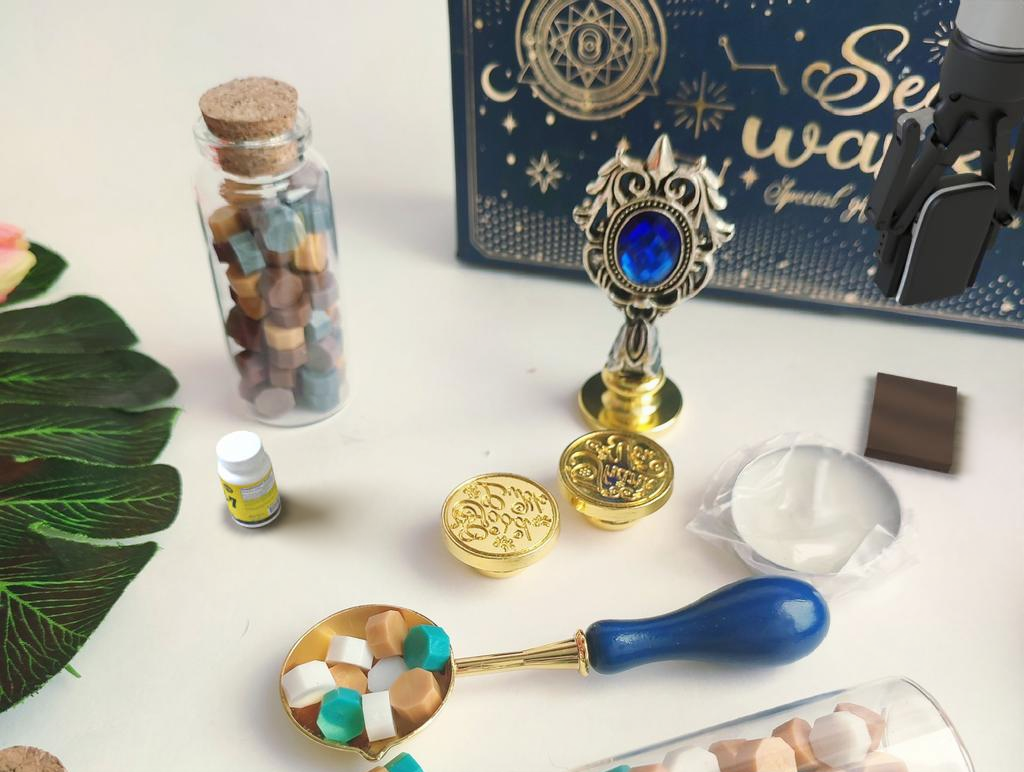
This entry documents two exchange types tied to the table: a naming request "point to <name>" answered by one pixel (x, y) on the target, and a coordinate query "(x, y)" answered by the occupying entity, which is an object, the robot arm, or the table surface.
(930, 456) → the walnut board
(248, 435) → the supplement bottle
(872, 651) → the table surface
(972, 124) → the robot arm
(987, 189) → the battery charger
